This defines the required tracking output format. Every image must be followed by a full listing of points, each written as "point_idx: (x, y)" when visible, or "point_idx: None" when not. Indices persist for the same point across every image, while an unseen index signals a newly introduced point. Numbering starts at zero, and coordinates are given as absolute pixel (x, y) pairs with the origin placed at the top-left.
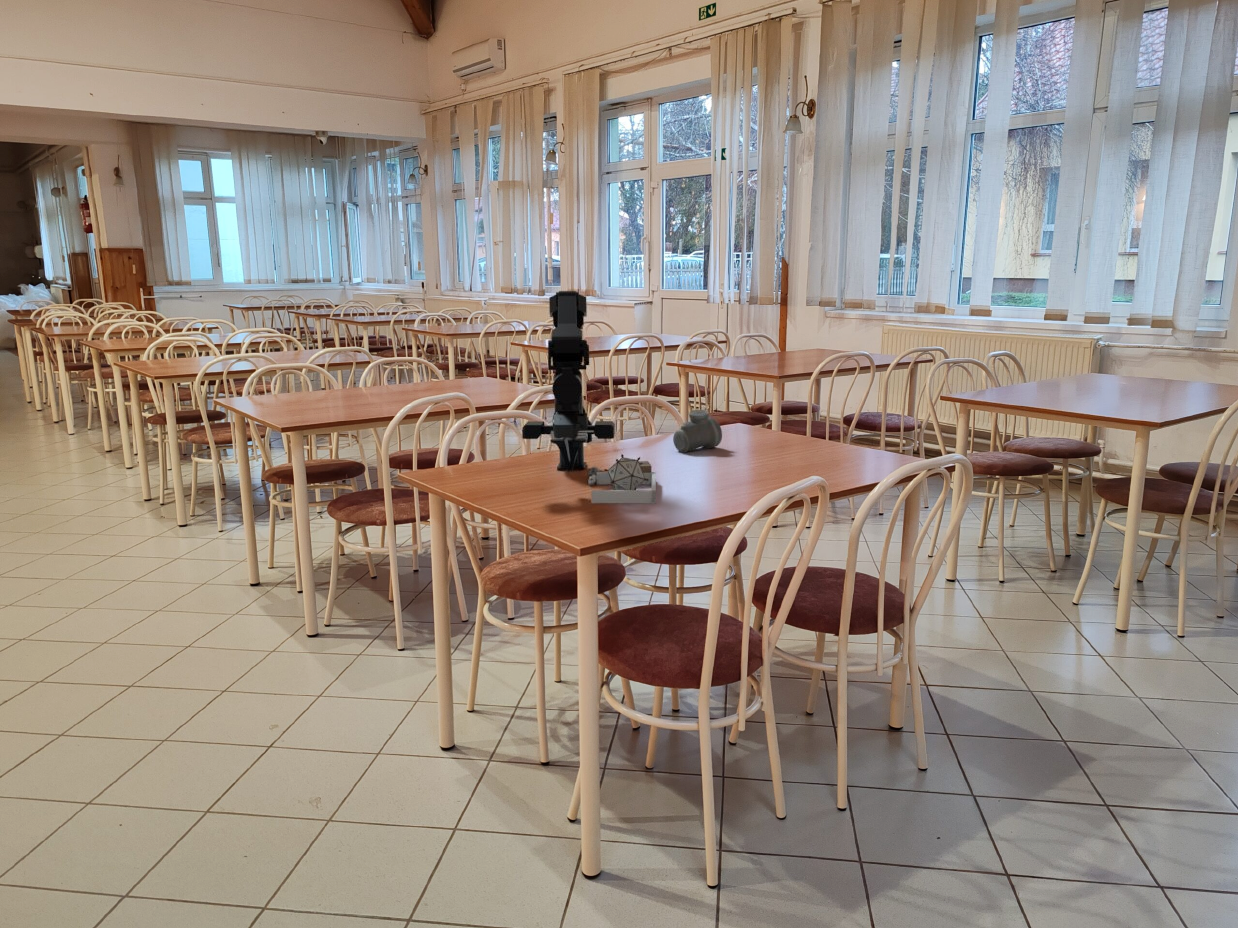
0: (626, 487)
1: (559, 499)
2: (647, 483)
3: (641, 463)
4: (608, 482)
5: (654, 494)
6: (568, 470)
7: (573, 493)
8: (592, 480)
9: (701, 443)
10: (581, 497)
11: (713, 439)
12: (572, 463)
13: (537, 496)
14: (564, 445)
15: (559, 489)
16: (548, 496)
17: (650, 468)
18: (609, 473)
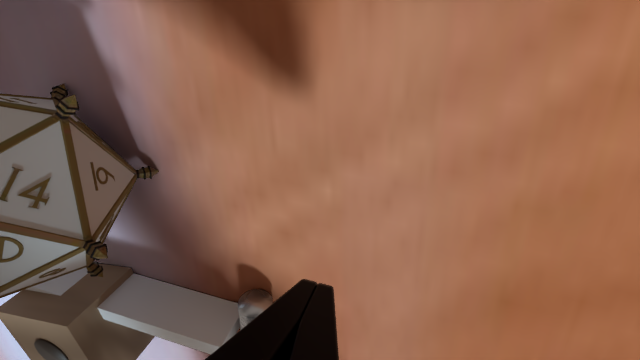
0: (37, 101)
1: (431, 66)
2: None
3: (39, 348)
4: (197, 298)
5: None
6: (327, 287)
7: (339, 192)
8: (247, 308)
9: None
10: (291, 100)
11: None
12: (268, 318)
13: (580, 167)
14: None
15: (411, 278)
16: (498, 154)
17: (9, 302)
18: (75, 205)
